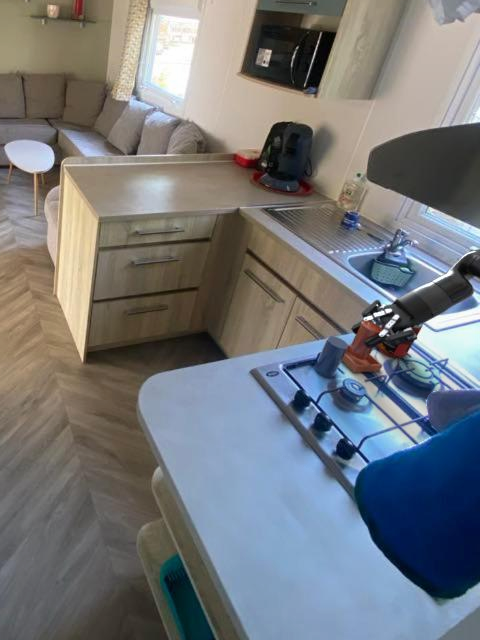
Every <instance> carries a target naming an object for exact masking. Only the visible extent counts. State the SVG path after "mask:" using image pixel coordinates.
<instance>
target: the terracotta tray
mask: <svg viewBox="0 0 480 640" xmlns="http://www.w3.org/2000/svg"><path fill="white" fill-rule="evenodd" d="M350 346H351V344H348V349H347V351H346V353H345V355H344V357H343V359H342V361H341V362H343V363H344V364H345V365H346V366H347V367H348V368H349V369H350V370H351V371H352V372H353V373H371V372H373V373H374V372H380V371H381V369H382V368H383V364H382V363H381V362H380V361H379V360H378V359H376V358H375V357H374V356H373V355H372V353H371V354H370V356H369V358H368V359H367V360H361V359H358V358H356V357H354V356H353V355H352V354H351V353H350V352H349V348H350Z"/></svg>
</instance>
